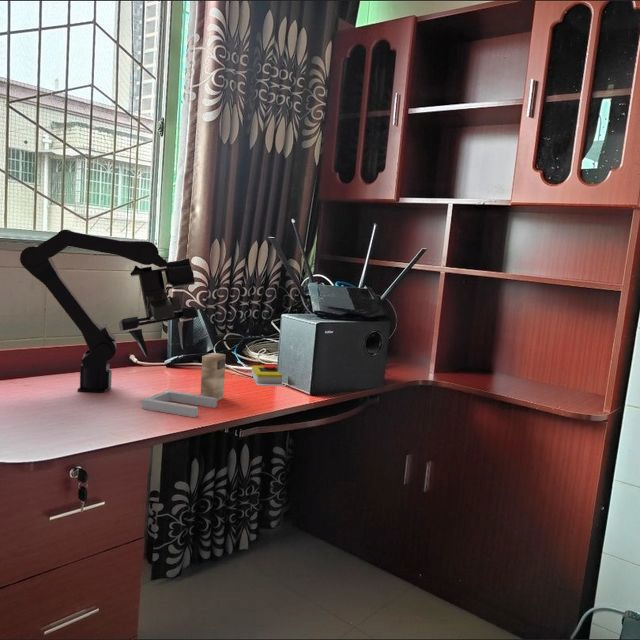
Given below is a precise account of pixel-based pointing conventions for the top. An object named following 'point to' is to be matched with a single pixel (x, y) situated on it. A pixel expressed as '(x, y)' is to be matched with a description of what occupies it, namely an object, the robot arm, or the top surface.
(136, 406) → the top surface
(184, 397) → the shallow open frame
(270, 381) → the emergency button
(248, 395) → the top surface
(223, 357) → the beige rectangular block
